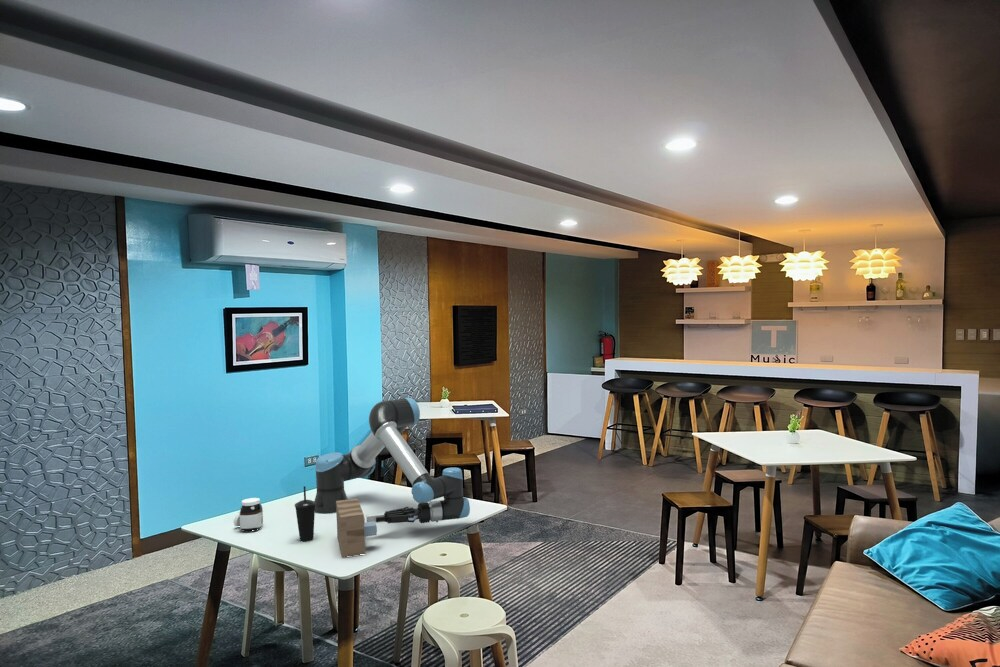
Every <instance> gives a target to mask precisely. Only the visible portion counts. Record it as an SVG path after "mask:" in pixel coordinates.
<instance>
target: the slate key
mask: <svg viewBox="0 0 1000 667" xmlns="http://www.w3.org/2000/svg"><path fill="white" fill-rule="evenodd" d="M377 532H378V525H377V523H375V521H373V522H367V521H365V523H364V534H365V538H366V537H372V536H378V534H377Z"/></svg>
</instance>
